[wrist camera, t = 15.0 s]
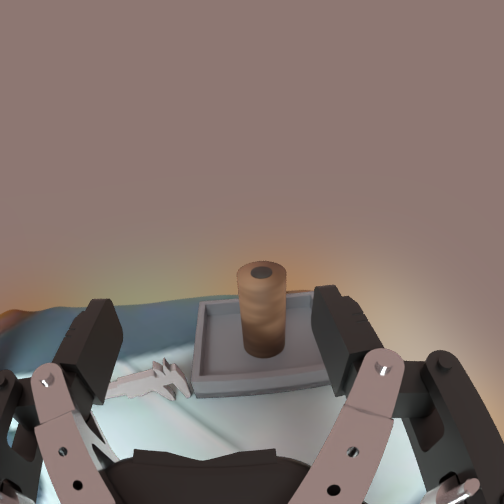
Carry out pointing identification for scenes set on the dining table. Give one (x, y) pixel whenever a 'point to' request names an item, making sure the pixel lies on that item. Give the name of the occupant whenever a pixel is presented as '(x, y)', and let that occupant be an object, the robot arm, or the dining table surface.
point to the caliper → (151, 382)
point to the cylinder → (262, 307)
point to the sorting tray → (246, 366)
